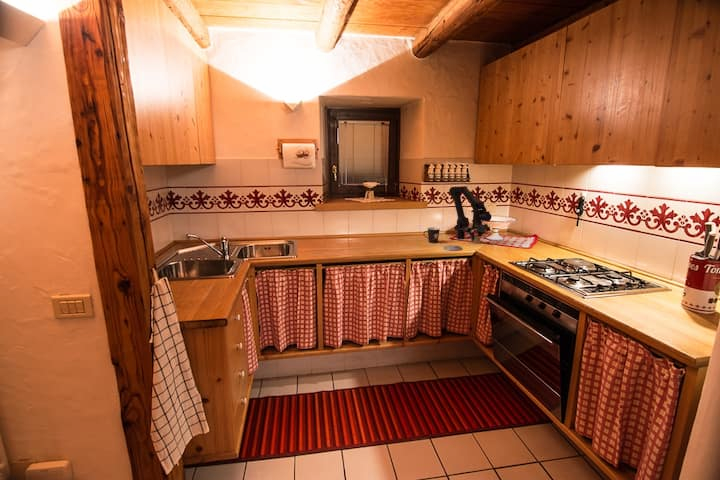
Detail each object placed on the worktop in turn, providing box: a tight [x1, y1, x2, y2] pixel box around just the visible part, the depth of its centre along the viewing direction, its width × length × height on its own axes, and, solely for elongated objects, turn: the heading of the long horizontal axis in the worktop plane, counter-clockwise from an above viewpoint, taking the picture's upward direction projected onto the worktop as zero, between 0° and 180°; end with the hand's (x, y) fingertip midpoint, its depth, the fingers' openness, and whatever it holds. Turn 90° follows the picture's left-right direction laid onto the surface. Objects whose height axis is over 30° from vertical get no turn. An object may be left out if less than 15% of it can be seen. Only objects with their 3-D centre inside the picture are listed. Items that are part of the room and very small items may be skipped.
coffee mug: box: [423, 226, 441, 244], centre depth 255 cm, size 12×9×10 cm
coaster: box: [443, 244, 463, 252], centre depth 238 cm, size 12×12×1 cm
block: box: [470, 234, 482, 245], centre depth 252 cm, size 6×4×5 cm, turn 12°
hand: (475, 240), depth 253 cm, fingers closed on block, 4 cm apart
